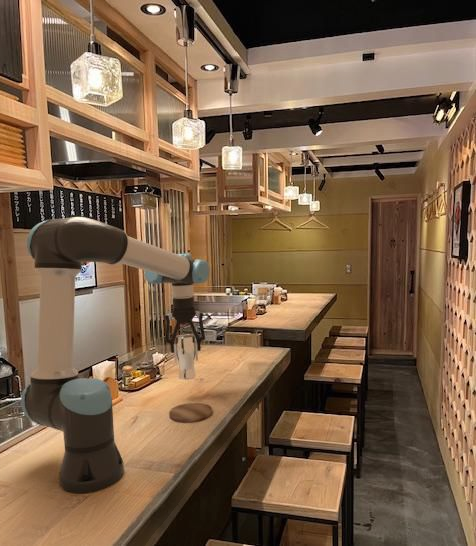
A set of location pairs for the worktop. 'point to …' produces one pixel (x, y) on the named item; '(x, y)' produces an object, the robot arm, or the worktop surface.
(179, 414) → the walnut coaster board
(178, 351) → the beer glass
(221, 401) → the worktop surface
